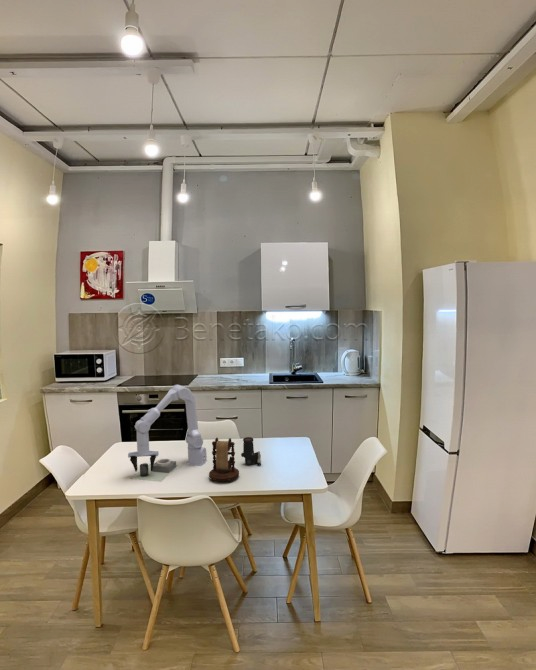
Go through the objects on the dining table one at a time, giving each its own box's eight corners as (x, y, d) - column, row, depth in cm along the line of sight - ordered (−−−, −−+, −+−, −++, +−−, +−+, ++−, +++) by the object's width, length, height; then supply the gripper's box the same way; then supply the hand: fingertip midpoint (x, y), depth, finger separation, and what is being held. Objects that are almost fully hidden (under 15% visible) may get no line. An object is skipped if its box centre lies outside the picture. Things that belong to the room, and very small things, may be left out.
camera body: (176, 466, 218) (176, 459, 218) (169, 473, 210) (168, 465, 210) (159, 465, 221) (158, 457, 220) (151, 471, 213) (151, 463, 213)
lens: (150, 473, 210) (149, 463, 209) (145, 477, 206) (145, 466, 206) (143, 473, 211) (142, 462, 210) (138, 476, 207) (138, 465, 207)
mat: (179, 466, 220) (179, 465, 220) (161, 482, 201) (160, 481, 201) (151, 463, 224) (151, 463, 224) (130, 479, 205) (129, 478, 205)
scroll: (205, 483, 199) (203, 442, 197) (214, 470, 214) (213, 432, 212) (235, 484, 197) (233, 443, 195) (242, 472, 211) (241, 433, 209)
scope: (260, 440, 217) (241, 441, 215) (261, 466, 218) (242, 467, 217) (258, 435, 225) (240, 436, 224) (259, 460, 226) (240, 461, 225)
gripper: (159, 440, 212) (160, 466, 213) (130, 441, 210) (131, 467, 212) (156, 445, 205) (157, 472, 206) (126, 446, 203) (127, 473, 205)
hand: (144, 470), depth 208 cm, fingers open, 7 cm apart
